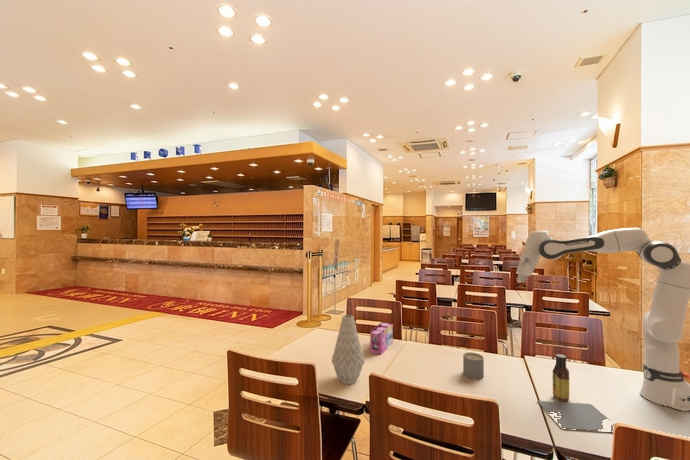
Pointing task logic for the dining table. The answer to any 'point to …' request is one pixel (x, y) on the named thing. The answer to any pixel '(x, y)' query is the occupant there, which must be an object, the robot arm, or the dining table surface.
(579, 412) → the placemat
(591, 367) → the dining table surface
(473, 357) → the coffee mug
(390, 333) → the pink multipack
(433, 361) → the dining table surface
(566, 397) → the sauce bottle
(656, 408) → the dining table surface
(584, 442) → the dining table surface
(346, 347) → the vase
